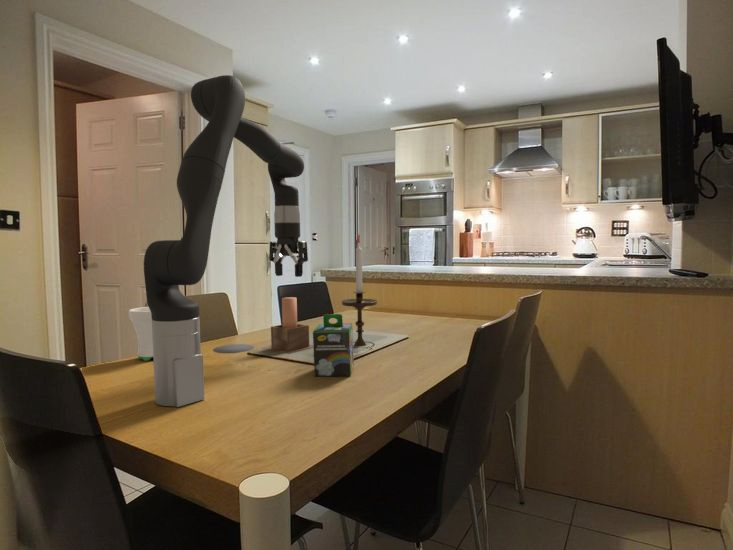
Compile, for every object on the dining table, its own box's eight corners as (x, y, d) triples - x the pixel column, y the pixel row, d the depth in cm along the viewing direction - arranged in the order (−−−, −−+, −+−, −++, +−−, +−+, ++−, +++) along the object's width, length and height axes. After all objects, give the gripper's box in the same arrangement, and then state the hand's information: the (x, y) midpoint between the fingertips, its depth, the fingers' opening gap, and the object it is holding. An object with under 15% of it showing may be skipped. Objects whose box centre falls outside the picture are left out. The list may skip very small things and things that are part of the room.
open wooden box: (318, 348, 145) (318, 325, 144) (289, 356, 136) (288, 331, 135) (291, 343, 152) (291, 321, 152) (262, 350, 143) (261, 327, 142)
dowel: (300, 346, 144) (299, 297, 143) (290, 349, 141) (288, 299, 140) (290, 345, 147) (289, 296, 146) (280, 347, 144) (278, 298, 142)
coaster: (262, 349, 144) (262, 347, 144) (229, 357, 135) (229, 355, 135) (238, 345, 152) (238, 342, 152) (204, 352, 142) (204, 349, 142)
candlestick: (377, 351, 141) (376, 232, 138) (341, 351, 141) (339, 233, 139) (377, 343, 152) (376, 233, 149) (343, 343, 152) (341, 233, 149)
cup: (160, 351, 144) (158, 305, 143) (181, 356, 137) (179, 307, 136) (123, 359, 135) (120, 309, 134) (144, 365, 128) (141, 312, 127)
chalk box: (354, 366, 124) (353, 310, 123) (351, 377, 115) (350, 316, 114) (318, 366, 124) (317, 310, 123) (313, 376, 115) (311, 316, 114)
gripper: (313, 221, 140) (314, 276, 141) (280, 222, 148) (282, 274, 150) (294, 220, 134) (295, 278, 135) (261, 222, 143) (263, 276, 144)
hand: (288, 276), depth 142 cm, fingers open, 8 cm apart
